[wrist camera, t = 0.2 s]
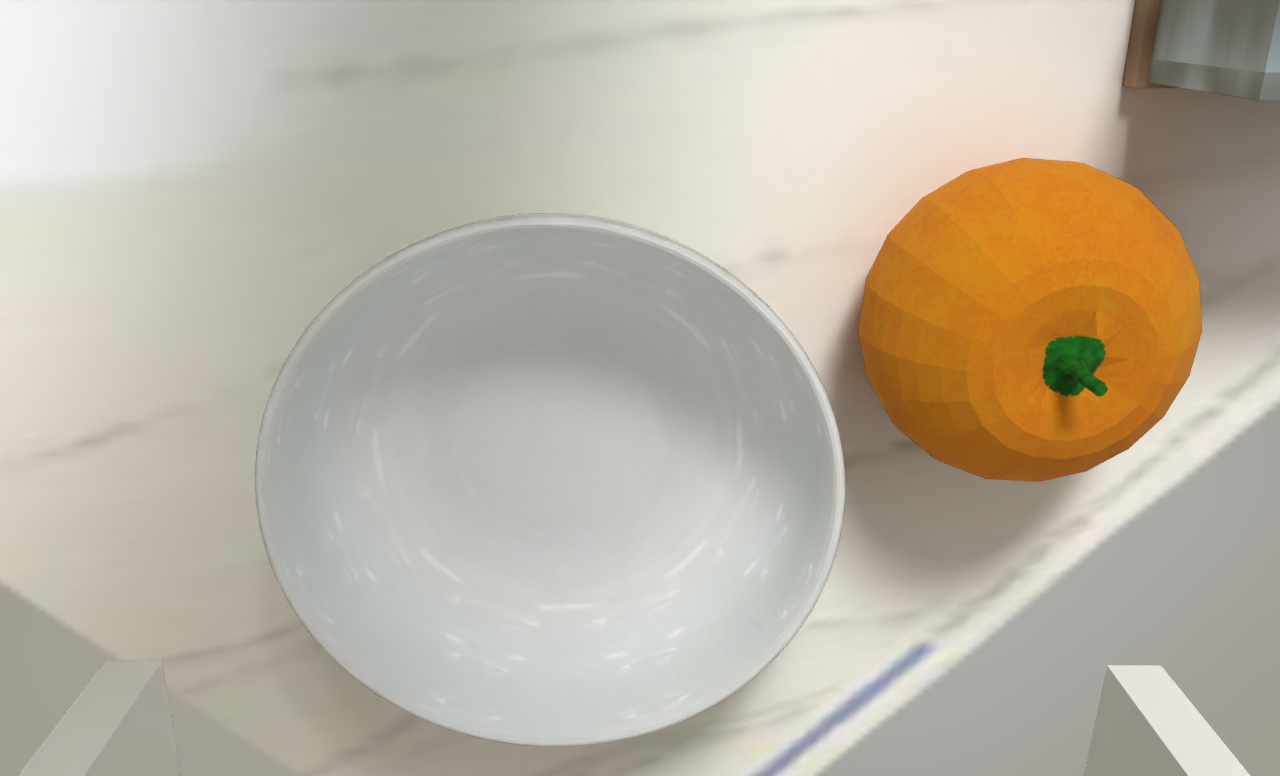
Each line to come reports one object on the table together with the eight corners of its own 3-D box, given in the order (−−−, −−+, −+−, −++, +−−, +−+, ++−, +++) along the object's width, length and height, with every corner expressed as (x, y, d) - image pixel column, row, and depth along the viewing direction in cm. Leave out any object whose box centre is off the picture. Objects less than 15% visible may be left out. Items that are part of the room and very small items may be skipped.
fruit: (1198, 245, 41) (1371, 319, 32) (1011, 478, 44) (1117, 607, 35) (961, 83, 39) (1072, 111, 29) (782, 342, 42) (831, 442, 33)
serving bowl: (240, 546, 45) (176, 639, 38) (417, 86, 38) (377, 105, 32) (677, 712, 48) (687, 823, 42) (907, 317, 42) (960, 376, 35)
